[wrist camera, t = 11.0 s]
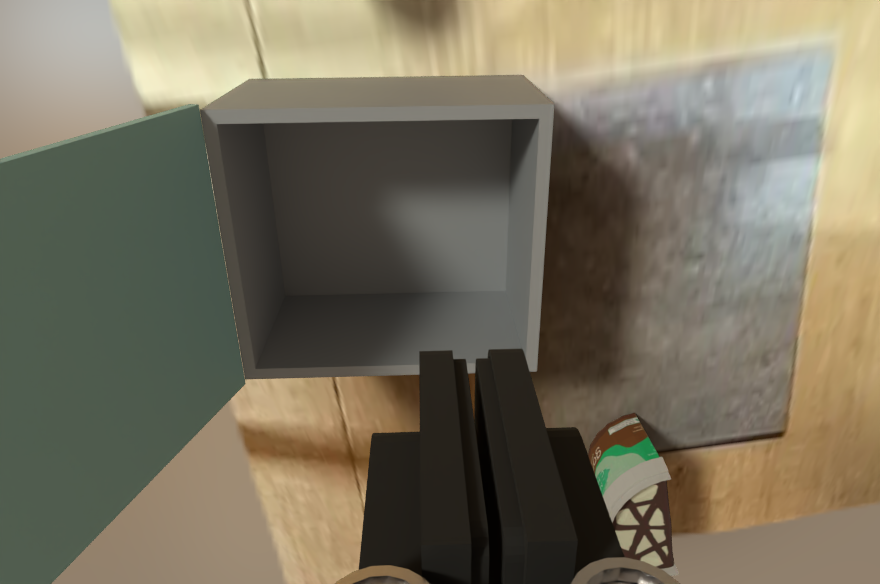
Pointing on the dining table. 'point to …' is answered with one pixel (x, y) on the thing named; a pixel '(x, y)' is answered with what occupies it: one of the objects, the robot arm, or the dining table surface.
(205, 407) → the lid
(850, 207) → the dining table surface
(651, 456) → the food container
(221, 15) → the dining table surface
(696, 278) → the dining table surface
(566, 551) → the robot arm
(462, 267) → the carton
